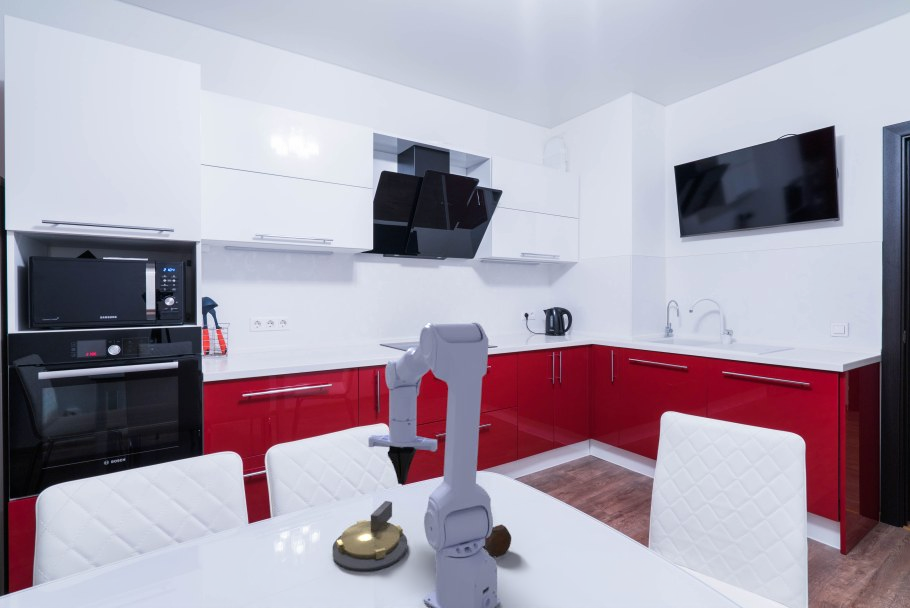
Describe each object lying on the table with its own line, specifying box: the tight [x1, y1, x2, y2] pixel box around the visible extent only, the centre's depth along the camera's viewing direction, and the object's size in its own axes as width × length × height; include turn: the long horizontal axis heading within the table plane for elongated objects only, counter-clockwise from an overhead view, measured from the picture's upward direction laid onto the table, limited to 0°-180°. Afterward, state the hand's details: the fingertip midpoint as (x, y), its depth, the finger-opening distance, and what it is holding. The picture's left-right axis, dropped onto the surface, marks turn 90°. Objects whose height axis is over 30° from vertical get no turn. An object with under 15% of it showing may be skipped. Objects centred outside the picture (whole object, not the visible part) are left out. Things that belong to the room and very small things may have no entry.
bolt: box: [484, 524, 512, 558], centre depth 91 cm, size 6×5×15 cm
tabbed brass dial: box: [336, 500, 404, 560], centre depth 86 cm, size 12×12×4 cm
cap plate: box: [332, 533, 408, 573], centre depth 86 cm, size 14×14×1 cm
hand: (402, 482), depth 94 cm, fingers closed
